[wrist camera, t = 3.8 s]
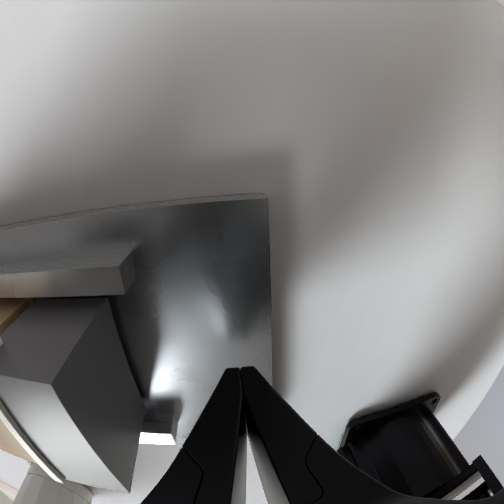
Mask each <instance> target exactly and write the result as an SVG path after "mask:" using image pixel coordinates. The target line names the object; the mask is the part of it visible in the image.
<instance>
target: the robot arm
mask: <svg viewBox="0 0 504 504" xmlns="http://www.w3.org/2000/svg"><path fill="white" fill-rule="evenodd" d="M439 400H440V395H439V394H438V393H437V392H433V393H431V394H428V395H426V396H423V397H421V398H418V399H416V400H413V401H410V402H408V403H405V404H402V405H399V406H396V407H394V408H391V409H388V410H385V411H381V412H378V413H375V414H372V415H368V416H365V417H361V418H358V419H355V420H352V421H351V422H349V423H348V424H347V426H346V429H345V432H344V436H343V439H342V442H341V445H340V447H339V449H338V450H337V452H336V451H335V450H334V449H333V448H332V447H331V446H330V445H329V444H327V443H326V442H325V441H324V440H323V439H322V438H321V437H320V436H319V435H317V433H316V432H315V431H314V430H313V429H312V428H311V427H310V426H309V425H308V424H307V423H306V422H305V421H304V420H303V419H302V418H301V417H300V415H299V414H298V413H297V412H296V411H295V410H294V409H293V408H292V407H291V406H290V405H289V404H288V403H287V402H286V401H285V400H284V399H283V397H282V396H281V395H280V394H279V393H278V392H277V391H276V390H275V389H274V388H273V387H272V385H271V384H270V383H269V382H268V381H267V380H266V379H265V378H264V377H263V375H262V374H261V373H260V372H259V371H258V370H257V369H256V368H255V367H254V366H245V367H241V368H238V367H233V368H226V369H225V370H224V372H223V374H222V376H221V378H220V380H219V382H218V383H217V385H216V387H215V389H214V391H213V393H212V394H211V396H210V398H209V400H208V402H207V403H206V405H205V407H204V409H203V411H202V412H201V414H200V416H199V418H198V420H197V421H196V423H195V425H194V427H193V429H192V430H191V432H190V434H189V436H188V437H187V439H186V441H185V443H184V444H183V446H182V447H183V448H181V449H180V451H179V453H178V455H177V456H176V458H175V460H174V461H173V463H172V464H171V466H170V467H169V469H168V470H167V472H166V473H165V475H164V476H163V477H162V478H161V480H160V481H159V482H158V484H157V485H156V486H155V487H154V489H153V490H152V491H151V492H150V493H149V494H148V496H147V497H146V498H145V499H144V500H143V501H142V503H141V504H246V462H247V434H248V438H249V442H250V445H251V449H252V452H253V456H254V459H255V463H256V466H257V469H258V473H259V476H260V479H261V483H262V486H263V489H264V492H265V495H266V498H267V502H268V504H504V488H503V486H502V485H501V483H500V482H499V480H498V479H497V478H496V476H495V475H494V473H493V472H492V470H491V469H490V468H489V466H488V465H487V464H486V462H485V461H484V459H483V458H482V456H481V455H480V456H478V457H477V458H476V459H475V460H474V461H473V463H472V464H471V465H469V464H468V462H467V461H466V459H465V458H464V457H463V455H462V454H461V452H460V451H459V449H458V448H457V446H456V445H455V444H454V442H453V441H452V439H451V438H450V436H449V435H448V434H447V432H446V431H445V429H444V428H443V427H442V425H441V424H440V422H439V421H438V420H437V418H436V417H435V416H434V414H433V412H434V410H435V408H436V406H437V404H438V402H439ZM246 427H247V430H246ZM481 477H483V479H484V480H485V481H484V482H483V483H482V484H481V485H480V486H478V487H477V488H476V489H474V490H473V491H472V492H470V493H469V494H468V495H467V496H465V497H464V498H462V499H461V500H452V499H453V498H455V497H456V496H458V495H459V494H460V493H462V492H463V491H464V490H466V489H467V488H468V487H470V486H471V485H472V484H473V483H475V482H476V481H477V480H478V479H480V478H481ZM491 492H492V493H493V496H491V495H490V493H491Z"/></svg>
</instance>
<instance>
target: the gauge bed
mask: <svg viewBox="0 0 504 504" xmlns="http://www.w3.org/2000/svg"><path fill="white" fill-rule="evenodd" d="M25 297H32V300H33V302H34V301H35V300H39V299H84V298H108V301H109V304H110V308H111V312H112V315H113V319H114V322H115V325H116V329H117V332H118V335H119V338H120V341H121V344H122V347H123V350H124V353H125V356H126V359H127V362H128V365H129V368H130V370H131V373H132V376H133V378H134V381H135V383H136V386H137V388H138V391H139V393H140V396H141V398H142V401H143V403H144V405H145V408H146V411H145V416H144V421H143V425H142V430H141V435H140V440H139V443H145V444H164V445H176V438H187V437H188V436H189V434H190V432H191V430H192V429H193V427H194V425H195V423H196V421H197V420H198V418H199V416H200V414H201V412H202V411H203V409H204V407H205V405H206V403H207V402H208V400H209V398H210V396H211V394H212V393H213V391H214V389H215V387H216V385H217V383H218V382H219V380H220V378H221V376H222V374H223V372H224V370H225V369H226V368H233V367H238V368H241V367H245V366H254V367H255V368H256V369H257V370H258V371H259V372H260V373H261V374H262V375H263V377H264V378H265V379H266V380H267V381H268V382H269V383H270V384H271V385H272V325H271V282H270V249H269V220H268V198H267V197H266V196H264V195H263V194H262V193H258V194H242V195H227V196H214V197H202V198H191V199H181V200H171V201H161V202H152V203H143V204H135V205H127V206H119V207H112V208H105V209H98V210H91V211H84V212H78V213H72V214H65V215H60V216H54V217H48V218H42V219H37V220H32V221H27V222H21V223H16V224H12V225H7V226H2V227H0V298H25ZM246 430H247V427H246ZM247 435H248V434H247Z"/></svg>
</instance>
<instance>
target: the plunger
mask: <svg viewBox="0 0 504 504" xmlns="http://www.w3.org/2000/svg"><path fill="white" fill-rule="evenodd" d="M145 411H146V408H145V405H144V403H143V401H142V398H141V396H140V393H139V391H138V388H137V386H136V383H135V381H134V378H133V376H132V373H131V370H130V368H129V365H128V362H127V359H126V356H125V353H124V350H123V347H122V344H121V341H120V338H119V335H118V332H117V329H116V325H115V322H114V319H113V315H112V312H111V308H110V304H109V301H108V298H84V299H39V300H35V301H34V302H33V303H32V304H31V305H30V306H29V307H28V308H27V309H26V310H25V311H24V312H23V313H22V314H21V315H20V316H19V317H18V318H17V319H16V320H15V321H14V322H13V323H12V324H11V325H10V326H9V327H8V328H7V329H6V330H5V331H4V332H3V333H2V334H1V335H0V419H1V420H2V422H3V423H4V424H5V426H6V427H7V428H8V430H9V431H10V432H11V433H12V435H13V436H14V437H15V438H16V440H17V441H18V442H19V443H20V444H21V446H22V447H23V448H24V449H25V450H26V451H27V452H28V454H29V455H30V456H31V457H32V458H33V459H34V460H35V461H36V462H37V463H38V464H39V465H40V467H41V468H42V469H43V470H44V471H45V472H46V473H47V474H48V475H49V476H50V477H52V478H53V479H54V480H55V481H57V482H60V483H63V484H64V482H65V480H69V481H73V482H76V483H80V484H84V485H88V486H93V487H97V488H102V489H107V490H112V491H118V492H124V493H130V490H131V484H132V478H133V472H134V466H135V461H136V455H137V450H138V445H139V440H140V435H141V430H142V425H143V421H144V416H145Z"/></svg>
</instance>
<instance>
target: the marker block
mask: <svg viewBox="0 0 504 504" xmlns="http://www.w3.org/2000/svg"><path fill="white" fill-rule="evenodd" d="M32 303H33V300H32V297H25V298H0V335H1V334H2V333H3V332H4V331H5V330H6V329H7V328H8V327H9V326H10V325H11V324H12V323H13V322H14V321H15V320H16V319H17V318H18V317H19V316H20V315H21V314H22V313H23V312H24V311H25V310H26V309H27V308H28V307H29V306H30V305H31V304H32ZM0 449H1V450H3V451H6V452H8V453H10V454H13V455H15V456H18V457H20V458H23V459H25V460H28V461H31V462H33V463H36V464H38V463H37V462H36V461H35V460H34V459H33V458H32V457H31V456H30V455H29V454H28V452H27V451H26V450H25V449H24V448H23V447H22V446H21V444H20V443H19V442H18V441H17V440H16V438H15V437H14V436H13V435H12V433H11V432H10V431H9V430H8V428H7V427H6V426H5V424H4V423H3V422H2V420H1V419H0Z"/></svg>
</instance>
